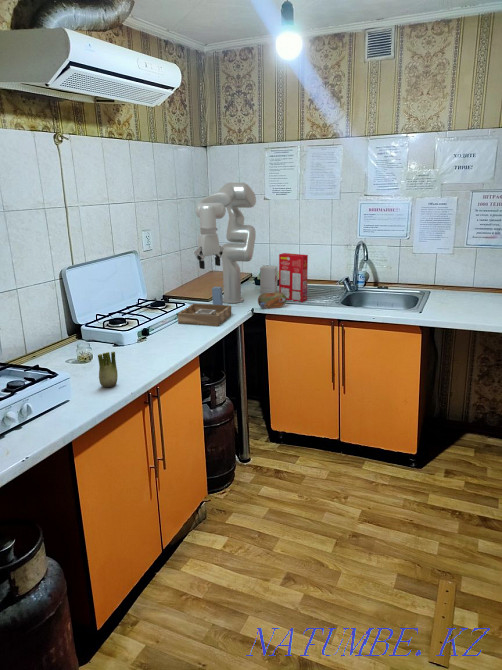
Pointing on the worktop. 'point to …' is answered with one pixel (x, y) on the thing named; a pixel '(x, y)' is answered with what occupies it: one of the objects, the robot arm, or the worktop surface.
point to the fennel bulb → (107, 369)
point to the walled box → (204, 314)
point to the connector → (217, 296)
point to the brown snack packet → (272, 300)
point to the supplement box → (268, 279)
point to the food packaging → (293, 276)
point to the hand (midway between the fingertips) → (210, 267)
